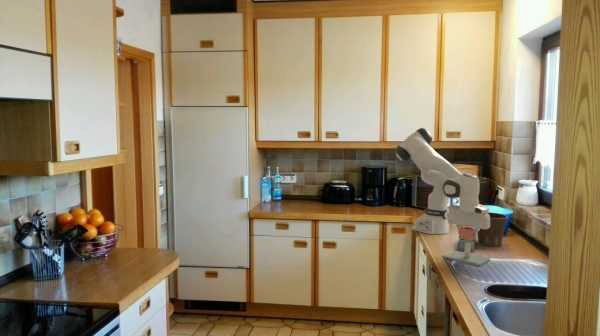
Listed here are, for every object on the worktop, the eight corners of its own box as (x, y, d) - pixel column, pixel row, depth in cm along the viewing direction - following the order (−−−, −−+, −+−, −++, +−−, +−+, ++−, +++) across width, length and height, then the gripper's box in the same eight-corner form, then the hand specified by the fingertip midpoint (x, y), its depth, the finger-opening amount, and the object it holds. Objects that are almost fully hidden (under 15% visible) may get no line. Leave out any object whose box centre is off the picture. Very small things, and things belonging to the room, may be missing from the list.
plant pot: (491, 238, 264) (492, 211, 262) (512, 245, 249) (514, 216, 247) (468, 241, 258) (469, 213, 257) (488, 248, 243) (490, 219, 241)
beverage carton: (458, 250, 241) (458, 238, 240) (460, 241, 259) (461, 229, 258) (474, 252, 238) (475, 239, 237) (475, 242, 256) (476, 231, 255)
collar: (458, 238, 224) (459, 228, 223) (464, 235, 228) (464, 226, 227) (470, 240, 219) (471, 230, 219) (475, 238, 224) (476, 228, 223)
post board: (444, 258, 227) (444, 242, 226) (454, 253, 235) (455, 237, 234) (480, 266, 214) (481, 249, 213) (490, 260, 223) (491, 244, 222)
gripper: (445, 205, 227) (444, 232, 228) (487, 211, 213) (485, 240, 214) (451, 203, 231) (450, 230, 233) (492, 209, 217) (490, 237, 219)
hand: (467, 235), depth 223 cm, fingers closed on collar, 6 cm apart
